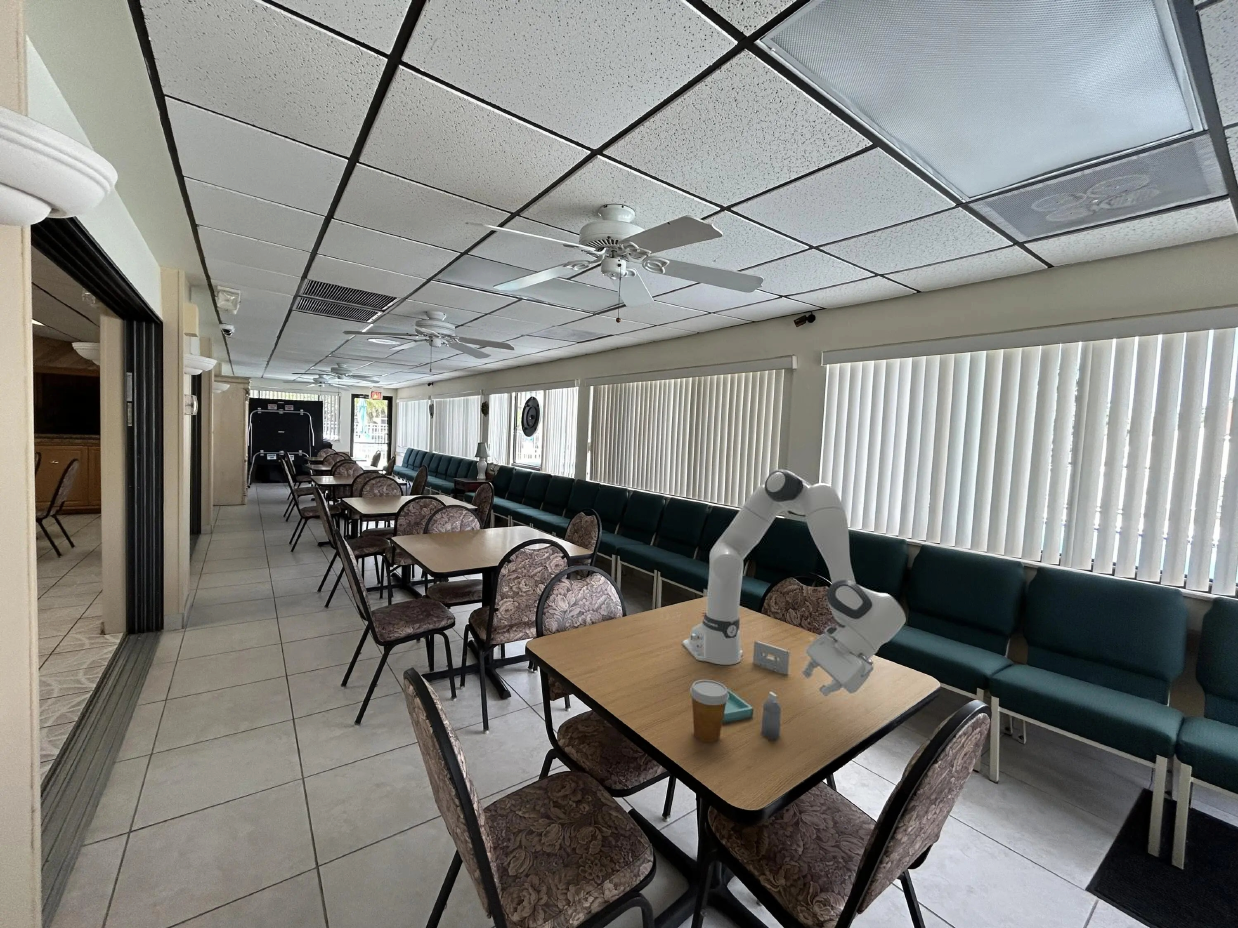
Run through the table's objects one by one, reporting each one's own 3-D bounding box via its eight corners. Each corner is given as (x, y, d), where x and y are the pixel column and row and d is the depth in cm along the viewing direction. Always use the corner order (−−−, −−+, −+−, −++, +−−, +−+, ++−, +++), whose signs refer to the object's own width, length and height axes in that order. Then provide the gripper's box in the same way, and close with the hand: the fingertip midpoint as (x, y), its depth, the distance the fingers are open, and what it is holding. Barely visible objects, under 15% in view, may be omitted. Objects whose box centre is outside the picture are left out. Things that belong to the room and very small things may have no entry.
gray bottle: (757, 730, 127) (760, 691, 127) (771, 727, 129) (773, 688, 129) (769, 740, 123) (772, 699, 123) (783, 736, 125) (785, 696, 125)
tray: (696, 701, 141) (697, 692, 141) (725, 695, 145) (726, 687, 145) (722, 723, 130) (722, 714, 130) (752, 716, 134) (753, 708, 134)
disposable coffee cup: (720, 725, 129) (723, 679, 129) (730, 747, 120) (733, 697, 119) (684, 723, 129) (687, 677, 128) (691, 745, 119) (694, 696, 119)
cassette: (752, 663, 169) (753, 641, 169) (754, 662, 170) (755, 639, 170) (786, 675, 161) (788, 652, 161) (788, 673, 163) (790, 650, 162)
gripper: (885, 674, 117) (842, 714, 116) (839, 640, 137) (802, 674, 136) (868, 655, 116) (825, 695, 116) (825, 623, 136) (788, 658, 136)
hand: (812, 683), depth 126 cm, fingers open, 8 cm apart
